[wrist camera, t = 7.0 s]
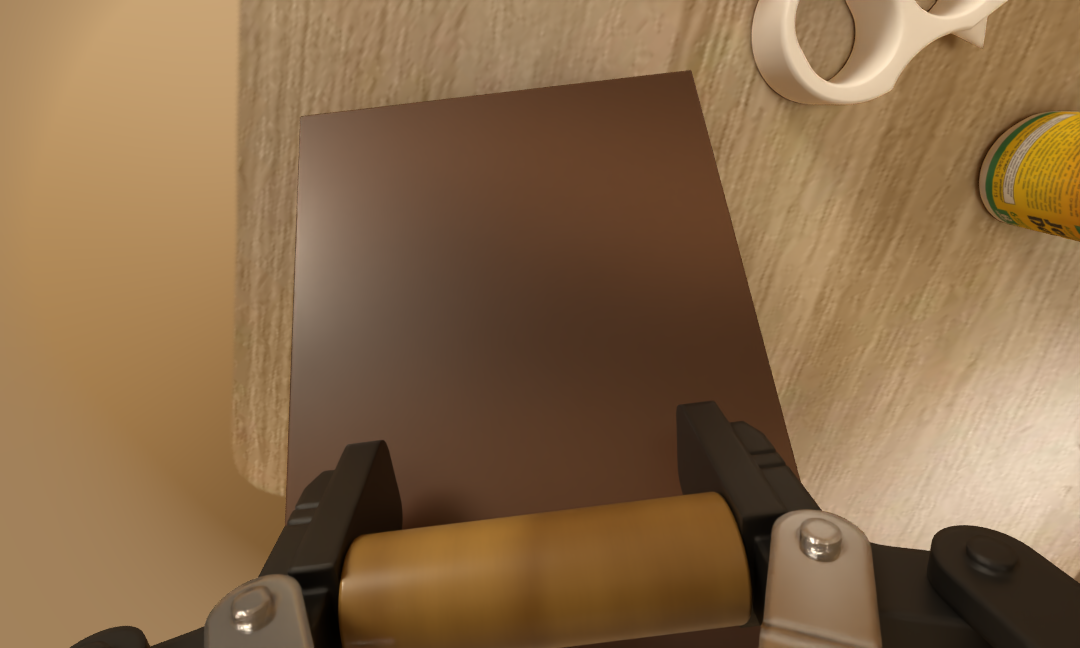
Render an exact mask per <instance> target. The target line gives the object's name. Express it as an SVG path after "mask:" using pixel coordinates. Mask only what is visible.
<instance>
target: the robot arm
mask: <svg viewBox="0 0 1080 648" xmlns="http://www.w3.org/2000/svg"><path fill="white" fill-rule="evenodd" d="M676 427H677V462H678V475H679V481H680V486H681V490H682V493H683V495H689V494H697V493H705V492H716V493H719V494H720V495H722V497H723V498H724V499H725V500H726V502H727V504H728V505H729V507H730V509H731V511H732V513H733V515H734V517H735V520H736V522H737V525H738V528H739V530H740V534H741V537H742V540H743V543H744V547H745V551H746V555H747V560H748V564H749V570H750V577H751V585H752V611H751V616H750V619H749V621H748V622H747V623H745V624H744V625H741V626H740V628H745V627H753V626H761V630H760V639H759V648H1080V583H1078V582H1077V581H1075V580H1074V579H1073V578H1071V577H1070V576H1069V575H1067V574H1066V573H1065V572H1063V571H1062V570H1060V569H1059V568H1058V567H1056V566H1055V565H1054V564H1052V563H1051V562H1050V561H1048V560H1047V559H1046V558H1044V557H1043V556H1041V555H1040V554H1039V553H1037V552H1036V551H1035V550H1033V549H1032V548H1030V547H1029V546H1027V545H1026V544H1024V543H1023V542H1021V541H1019V540H1017V539H1015V538H1013V537H1011V536H1009V535H1006V534H1004V533H1001V532H998V531H995V530H991V529H988V528H983V527H978V526H968V525H959V526H951V527H947V528H944V529H942V530H940V531H939V532H937V533H936V534H935V535H934V537H933V539H932V544H931V549H930V551H926V550H917V549H908V548H900V547H891V546H884V545H879V544H875V543H871V542H869V540H868V538H867V537H866V535H865V534H864V533H863V532H862V531H861V530H860V529H859V528H858V527H857V526H856V525H854V524H853V523H851V522H850V521H848V520H846V519H845V518H842V517H840V516H838V515H835V514H832V513H829V512H825V511H822V510H821V509H820V507H819V506H818V505H817V504H816V502H815V501H814V500H813V498H812V497H811V496H810V494H809V493H808V492H807V490H806V489H805V488H804V486H803V485H802V484H801V482H800V481H799V480H798V478H797V477H796V476H795V474H794V473H793V472H792V470H791V469H790V468H789V466H786V463H785V461H784V460H783V458H782V457H781V456H780V454H779V453H778V452H776V449H775V448H774V446H773V445H772V444H771V442H770V441H769V440H768V438H767V437H766V436H765V434H764V433H763V432H761V431H759V430H758V429H756V428H754V427H753V426H751V425H749V424H748V423H746V422H745V421H738V422H729V421H728V420H727V418H726V417H725V415H724V414H723V412H722V411H721V409H720V408H719V406H718V405H717V403H716V402H715V401H713V400H712V401H704V402H696V403H688V404H679V405H678V406H677V410H676ZM402 525H403V510H402V502H401V497H400V493H399V489H398V485H397V481H396V477H395V473H394V468H393V464H392V460H391V456H390V452H389V448H388V445H387V443H386V442H385V441H384V440H378V441H369V442H361V443H353V444H348V445H347V446H346V447H345V449H344V451H343V453H342V455H341V457H340V459H339V462H338V464H337V466H336V468H335V470H329V471H323V472H322V473H321V474H319V475H318V476H317V477H316V478H315V479H314V480H313V481H312V482H311V483H310V484H309V485H308V486H307V487H305V489H304V490H303V492H302V494H301V496H300V498H299V500H298V502H297V504H296V506H295V510H293V511H292V513H291V515H290V517H289V519H288V521H287V526H285V527H284V529H283V531H282V533H281V535H280V536H279V538H278V541H277V542H276V544H275V546H274V548H273V550H272V552H271V554H270V556H269V557H268V559H267V561H266V563H265V565H264V567H263V569H262V571H261V573H260V575H259V576H258V578H256V579H252V580H250V581H248V582H246V583H244V584H242V585H240V586H238V587H237V588H235V589H234V590H232V591H231V592H229V593H228V594H227V595H226V596H225V597H223V598H222V599H221V600H220V601H219V602H218V603H217V604H216V605H215V607H214V608H213V610H212V611H211V612H210V614H209V616H208V618H207V620H206V623H205V626H204V627H201V628H199V629H197V630H194V631H191V632H189V633H186V634H184V635H180V636H178V637H175V638H173V639H170V640H167V641H164V642H161V643H159V644H156V645H153V646H151V647H150V645H149V643H148V641H147V639H146V637H145V635H144V634H143V632H142V631H141V630H140V629H138V628H136V627H132V626H120V627H114V628H109V629H106V630H103V631H100V632H98V633H95V634H93V635H91V636H89V637H87V638H85V639H83V640H81V641H79V642H78V643H76V644H75V645H73V646H71V647H70V648H342V643H341V637H340V629H339V616H338V602H339V587H340V579H341V573H342V568H343V563H344V560H345V556H346V553H347V551H348V548H349V546H350V544H351V543H352V541H353V540H354V539H355V538H357V537H359V536H360V535H364V534H373V533H381V532H389V531H397V530H402Z"/></svg>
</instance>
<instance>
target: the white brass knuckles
mask: <svg viewBox="0 0 1080 648" xmlns="http://www.w3.org/2000/svg"><path fill="white" fill-rule="evenodd" d="M845 1H846V3H847V5H848V7H849V9H850V11H851V13H852V15H853V18H854V22H855V42H854V47H853V50H852V53H851V55H850V57H849V59H848V61H847V63H846V64H845V66H844V67H843V68H842V69H841V71H840V72H839V73H838V74H837V75H835V76H834V77H833V78H832V79H830V80H828V81H825V80H824V79H822V78H821V77H819V76H818V75H817V74H816V73H815V72H814V71H813V69H812V68H811V66H810V64H809V63H808V61H807V59H806V57H805V55H804V53H803V51H802V50H801V48H800V46H799V43H798V41H797V37H796V32H795V16H796V10H797V6H798V3H799V0H759V1H758V4H757V7H756V10H755V14H754V18H753V24H752V49H753V54H754V58H755V62H756V65H757V67H758V69H759V71H760V73H761V75H762V77H763V78H764V80H765V81H766V82H767V84H768V85H769V86H770V87H771V88H772V89H773V90H774V91H775V92H777V93H778V94H780V95H781V96H783V97H784V98H786V99H789V100H791V101H794V102H797V103H802V104H810V105H848V104H858V103H863V102H867V101H870V100H873V99H875V98H878V97H880V96H882V95H884V94H886V93H888V92H890V91H891V90H892V89H893V87H894V85H895V83H896V81H897V79H898V77H899V76H900V74H901V72H902V71H903V69H904V68H905V67H906V65H907V64H908V63H909V62H910V61H911V60H912V59H913V57H914V56H915V55H916V54H918V53H919V52H920V51H921V50H922V49H923V48H925V47H926V46H927V45H929V44H930V43H932V42H933V41H935V40H937V39H938V38H940V37H943V36H945V35H947V34H950V33H951V34H953V35H955V36H957V37H959V38H961V39H963V40H965V41H967V42H969V43H971V44H973V45H975V46H977V47H979V48H981V49H983V45H984V38H985V31H986V24H987V17H988V16H989V15H990V14H991V13H992V12H994V11H995V10H996V9H998V8H999V7H1000V6H1001V5H1003V4H1004V3H1005V2H1007V1H1008V0H938V1H937V2H936V4H935V5H934V6H933V7H932V9H931V10H930V11H929V12H926V11H925V10H923V9H922V8H921V7H920V6H919V5H918V4H917V3H916V1H915V0H845Z"/></svg>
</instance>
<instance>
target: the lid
mask: <svg viewBox="0 0 1080 648" xmlns="http://www.w3.org/2000/svg"><path fill="white" fill-rule="evenodd" d="M712 400H713V401H715V402H716V403H717V405H718V406H719V408H720V409H721V411H722V412H723V414H724V415H725V417H726V418H727V420H728V421H729V422H738V421H745V422H746V423H748V424H749V425H751V426H753V427H754V428H756V429H758V430H759V431H761V432H763V433H764V434H765V436H766V437H767V438H768V440H769V441H770V442H771V444H772V445H773V446H774V448H775V449H776V452H778V453H779V454H780V456H781V457H782V458H783V460H784V461H785V463H786V466H789V468H790V469H791V470H792V472H793V473H794V474H795V476H796V477H797V478H798V480H799V481H800V478H799V474H798V470H797V466H796V463H795V459H794V455H793V451H792V448H791V444H790V440H789V436H788V433H787V429H786V425H785V421H784V417H783V414H782V410H781V406H780V402H779V399H778V395H777V391H776V387H775V384H774V380H773V376H772V372H771V369H770V365H769V361H768V357H767V354H766V350H765V346H764V342H763V338H762V335H761V331H760V327H759V323H758V320H757V316H756V312H755V308H754V305H753V301H752V297H751V293H750V290H749V286H748V282H747V278H746V275H745V271H744V267H743V263H742V259H741V256H740V252H739V248H738V244H737V241H736V237H735V233H734V229H733V226H732V222H731V218H730V214H729V211H728V207H727V203H726V199H725V195H724V192H723V188H722V184H721V180H720V177H719V173H718V169H717V165H716V162H715V158H714V154H713V150H712V147H711V143H710V139H709V135H708V132H707V128H706V124H705V120H704V116H703V113H702V109H701V105H700V101H699V98H698V94H697V90H696V86H695V83H694V79H693V75H692V71H691V70H688V71H679V72H671V73H662V74H654V75H645V76H637V77H628V78H620V79H612V80H603V81H595V82H586V83H578V84H569V85H561V86H552V87H544V88H536V89H527V90H519V91H510V92H502V93H493V94H485V95H476V96H468V97H460V98H451V99H443V100H434V101H426V102H417V103H409V104H401V105H392V106H384V107H375V108H367V109H358V110H350V111H341V112H333V113H325V114H316V115H308V116H301V117H300V137H299V164H298V191H297V218H296V245H295V272H294V299H293V325H292V352H291V379H290V406H289V433H288V460H287V487H286V514H285V526H287V521H288V519H289V517H290V515H291V513H292V511H293V510H295V506H296V504H297V502H298V500H299V498H300V496H301V494H302V492H303V490H304V489H305V487H307V486H308V485H309V484H310V483H311V482H312V481H313V480H314V479H315V478H316V477H317V476H318V475H319V474H321V473H322V472H323V471H329V470H335V468H336V466H337V464H338V462H339V459H340V457H341V455H342V453H343V451H344V449H345V447H346V446H347V445H348V444H353V443H361V442H369V441H378V440H384V441H385V442H386V443H387V445H388V448H389V452H390V456H391V460H392V464H393V468H394V473H395V477H396V481H397V485H398V489H399V493H400V497H401V502H402V510H403V525H402V530H397V531H389V532H381V533H373V534H364V535H360V536H359V537H357V538H355V539H354V540H353V541H352V543H351V544H350V546H349V548H348V551H347V553H346V556H345V560H344V563H343V568H342V573H341V579H340V587H339V602H338V616H339V629H340V637H341V643H342V648H759V639H760V630H761V626H753V627H745V628H740V626H741V625H744V624H745V623H747V622H748V621H749V619H750V616H751V611H752V585H751V577H750V570H749V564H748V560H747V555H746V551H745V547H744V543H743V540H742V537H741V534H740V530H739V528H738V525H737V522H736V520H735V517H734V515H733V513H732V511H731V509H730V507H729V505H728V504H727V502H726V500H725V499H724V498H723V497H722V495H720V494H719V493H716V492H705V493H697V494H689V495H683V493H682V490H681V486H680V481H679V475H678V462H677V427H676V410H677V406H678V405H679V404H688V403H696V402H704V401H712ZM800 482H801V481H800Z"/></svg>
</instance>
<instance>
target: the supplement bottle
mask: <svg viewBox="0 0 1080 648" xmlns="http://www.w3.org/2000/svg"><path fill="white" fill-rule="evenodd" d="M979 191H980V195H981V199H982V201H983V203H984V205H985V207H986V208H987V210H988V211H989V212H990V213H991V214H992V215H993V217H995V218H996V219H998V220H1000V221H1002V222H1004V223H1007V224H1011V225H1015V226H1018V227H1023V228H1027V229H1031V230H1035V231H1039V232H1043V233H1047V234H1051V235H1056V236H1061V237H1064V238H1067V239H1071V240H1075V241H1080V112H1077V111H1050V112H1044V113H1039V114H1035V115H1032V116H1030V117H1028V118H1026V119H1024V120H1022V121H1020V122H1019V123H1017V124H1016V125H1014V126H1013V127H1011V128H1010V129H1008V130H1007V131H1006V132H1005V133H1004V134H1002V135H1001V136H1000V137H999V138H998V139H997V141H996V142H995V143H994V144H993V146H992V147H991V148H990V150H989V151H988V153H987V155H986V157H985V160H984V162H983V164H982V168H981V171H980V178H979Z"/></svg>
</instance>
